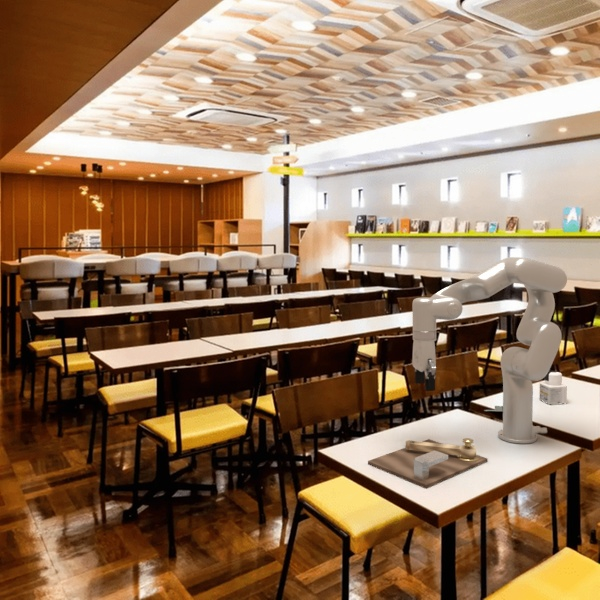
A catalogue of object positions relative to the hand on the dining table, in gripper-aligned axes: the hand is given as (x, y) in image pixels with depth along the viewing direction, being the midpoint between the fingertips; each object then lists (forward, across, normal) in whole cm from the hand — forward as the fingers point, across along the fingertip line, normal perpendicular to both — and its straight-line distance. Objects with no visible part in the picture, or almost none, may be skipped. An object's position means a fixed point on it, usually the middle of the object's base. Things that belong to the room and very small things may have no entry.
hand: (424, 386), depth 183 cm
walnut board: (+21, +12, -4) cm, 24 cm away
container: (+21, -40, +70) cm, 83 cm away
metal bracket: (+22, -28, +43) cm, 56 cm away
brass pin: (+21, +13, +9) cm, 26 cm away
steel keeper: (+20, +22, -6) cm, 30 cm away
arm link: (+19, +9, +2) cm, 21 cm away
